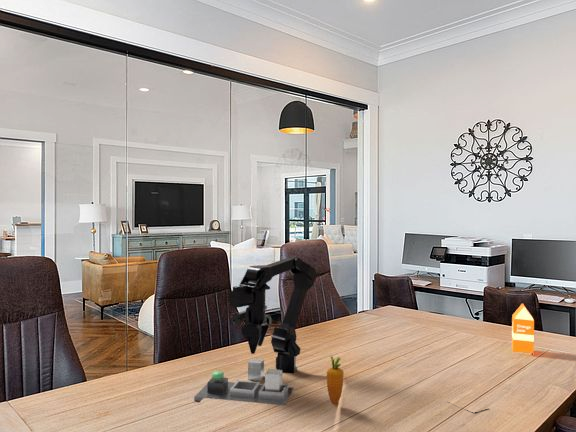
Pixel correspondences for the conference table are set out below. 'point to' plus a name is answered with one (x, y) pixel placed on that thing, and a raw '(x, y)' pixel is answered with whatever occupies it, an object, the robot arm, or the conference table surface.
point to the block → (273, 380)
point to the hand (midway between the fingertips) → (256, 349)
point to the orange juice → (522, 331)
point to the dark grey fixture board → (243, 392)
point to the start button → (217, 375)
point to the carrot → (335, 381)
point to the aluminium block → (256, 369)
